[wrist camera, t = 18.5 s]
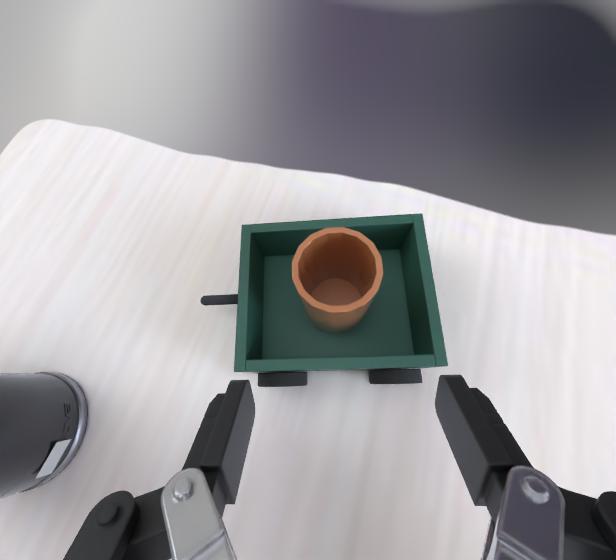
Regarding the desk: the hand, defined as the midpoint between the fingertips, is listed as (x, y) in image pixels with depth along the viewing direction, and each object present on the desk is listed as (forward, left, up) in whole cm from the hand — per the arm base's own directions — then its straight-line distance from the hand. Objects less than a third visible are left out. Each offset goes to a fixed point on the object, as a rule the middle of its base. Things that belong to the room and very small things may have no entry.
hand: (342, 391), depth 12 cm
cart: (0, +7, -13) cm, 15 cm away
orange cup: (0, +7, -12) cm, 14 cm away
